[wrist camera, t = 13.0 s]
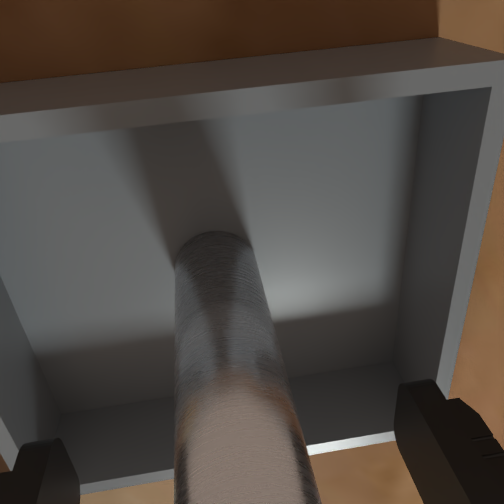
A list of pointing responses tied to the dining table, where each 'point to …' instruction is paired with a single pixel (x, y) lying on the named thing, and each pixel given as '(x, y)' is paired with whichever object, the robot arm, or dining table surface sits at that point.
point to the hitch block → (3, 465)
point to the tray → (240, 235)
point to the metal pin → (232, 385)
